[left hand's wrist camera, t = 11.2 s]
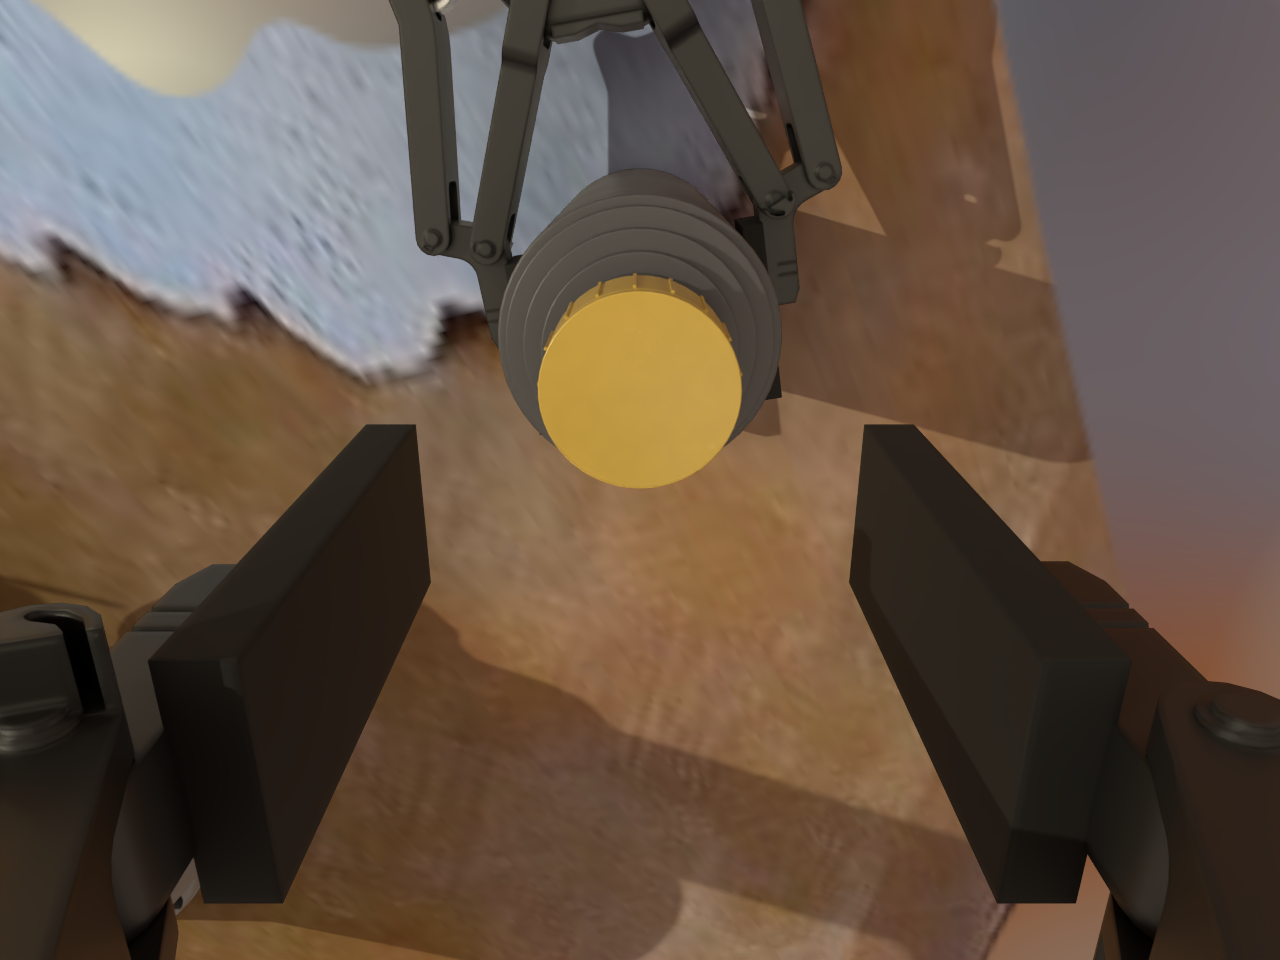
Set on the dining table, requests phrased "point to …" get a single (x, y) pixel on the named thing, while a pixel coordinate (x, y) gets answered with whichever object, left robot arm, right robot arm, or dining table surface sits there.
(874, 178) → the dining table surface
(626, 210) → the bottle
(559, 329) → the cap
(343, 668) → the left robot arm
